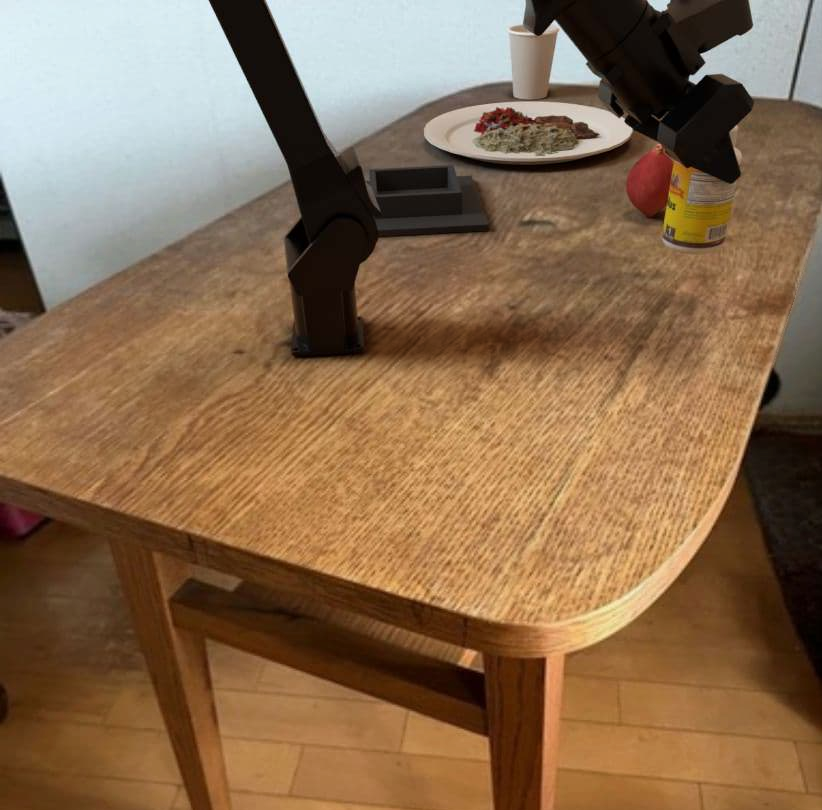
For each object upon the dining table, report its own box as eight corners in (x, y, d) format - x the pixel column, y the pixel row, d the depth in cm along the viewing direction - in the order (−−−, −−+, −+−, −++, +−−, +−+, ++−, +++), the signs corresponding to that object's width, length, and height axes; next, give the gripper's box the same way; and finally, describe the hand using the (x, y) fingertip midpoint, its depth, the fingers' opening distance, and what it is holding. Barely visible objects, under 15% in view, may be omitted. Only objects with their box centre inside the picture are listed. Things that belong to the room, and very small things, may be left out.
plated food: (566, 187, 109) (568, 159, 107) (382, 151, 123) (381, 126, 121) (665, 130, 127) (669, 105, 125) (495, 105, 141) (496, 83, 139)
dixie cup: (530, 87, 151) (533, 21, 144) (565, 95, 145) (570, 27, 139) (495, 95, 147) (497, 28, 140) (529, 104, 142) (533, 35, 135)
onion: (616, 220, 99) (625, 147, 94) (630, 205, 103) (639, 134, 98) (666, 227, 97) (677, 153, 92) (679, 211, 101) (691, 139, 96)
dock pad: (488, 231, 98) (489, 201, 96) (349, 238, 98) (347, 209, 96) (471, 181, 112) (471, 154, 110) (349, 187, 112) (347, 161, 109)
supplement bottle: (664, 231, 81) (683, 114, 74) (725, 237, 80) (750, 118, 73) (656, 253, 77) (676, 131, 70) (720, 259, 76) (747, 135, 69)
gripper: (758, -51, 56) (862, 121, 64) (652, -74, 70) (749, 69, 78) (626, 89, 60) (739, 234, 68) (551, 41, 74) (653, 165, 82)
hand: (720, 169), depth 74 cm, fingers closed on supplement bottle, 5 cm apart
